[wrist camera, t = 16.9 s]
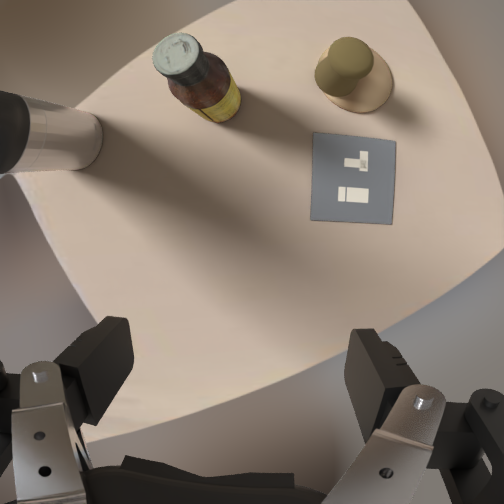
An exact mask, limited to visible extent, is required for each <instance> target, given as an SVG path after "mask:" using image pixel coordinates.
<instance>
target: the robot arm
mask: <svg viewBox="0 0 504 504" xmlns="http://www.w3.org/2000/svg"><path fill="white" fill-rule="evenodd" d="M102 139H103V133H102V128H101V125H100V123H99V121H98V119H97V118H96V117H95V116H93V115H92V114H90V113H87V112H84V111H80V110H77V109H73V108H69V107H66V106H62V105H59V104H54V103H51V102H47V101H43V100H39V99H35V98H30V97H26V96H22V95H17V94H13V93H8V92H4V91H0V174H7V173H19V172H34V171H55V170H79V169H83V168H85V167H87V166H88V165H90V164H91V163H92V162H93V161H94V160H95V158H96V157H97V155H98V153H99V151H100V149H101V145H102ZM133 364H134V353H133V346H132V340H131V333H130V326H129V322H128V320H127V319H126V318H122V317H113V316H106V317H105V318H104V319H103V320H102V321H101V322H100V323H99V324H98V325H97V326H96V327H93V328H91V329H89V330H87V331H85V332H83V333H82V334H81V335H80V336H79V337H78V338H77V339H76V340H75V341H74V342H73V343H72V344H71V345H70V346H68V347H67V348H66V349H65V350H64V351H63V352H62V353H61V354H60V355H59V356H58V357H57V358H56V359H55V360H54V361H53V362H51V361H38V362H34V363H32V364H30V365H28V366H26V367H25V368H24V369H23V370H22V372H21V374H9V373H6V372H5V369H4V366H3V363H2V362H1V361H0V477H1V475H2V474H3V472H4V471H5V469H6V468H7V466H8V464H9V463H10V461H11V460H12V459H13V467H14V477H15V486H16V494H17V500H14V501H11V502H8V503H5V504H410V502H411V500H412V498H413V496H414V494H415V492H416V490H417V487H418V485H419V483H420V481H421V478H422V476H423V474H424V471H425V469H426V468H429V469H439V470H440V473H441V476H442V478H443V481H444V483H445V486H446V489H447V491H448V494H449V497H450V499H451V502H452V504H504V395H503V394H501V393H500V392H498V391H495V390H492V389H479V390H476V391H475V392H474V393H473V394H472V395H471V397H470V400H469V402H468V403H453V402H446V399H445V396H444V395H443V394H442V392H440V391H439V390H438V389H436V388H434V387H431V386H428V385H423V384H420V382H419V381H418V379H417V377H416V376H415V374H414V373H413V372H412V370H411V368H410V367H409V365H407V362H406V361H405V359H404V358H402V355H401V353H400V352H399V350H398V349H397V348H396V347H394V346H393V345H391V344H390V343H389V342H387V341H385V342H382V341H381V339H380V338H379V336H378V334H377V333H376V331H375V330H374V329H353V330H352V332H351V335H350V341H349V346H348V352H347V358H346V363H345V370H344V376H345V377H344V378H345V384H346V386H347V390H348V392H349V396H350V399H351V402H352V405H353V408H354V410H355V414H356V417H357V420H358V423H359V426H360V429H361V432H362V436H363V439H364V442H365V446H364V447H363V449H362V450H361V452H360V453H359V454H358V456H357V457H356V459H355V460H354V462H353V463H352V464H351V466H350V467H349V468H348V470H347V471H346V473H345V474H344V475H343V477H342V478H341V479H340V480H339V482H338V483H337V484H336V486H335V487H334V488H333V489H332V491H331V492H330V493H329V495H326V494H324V493H322V492H320V491H317V490H314V489H311V488H308V487H304V486H300V485H295V484H294V474H293V473H243V474H235V475H227V476H217V477H202V476H198V475H195V474H192V473H189V472H186V471H184V470H181V469H178V468H175V467H173V466H170V465H167V464H165V463H161V462H155V461H150V460H145V459H140V458H136V457H131V456H127V455H125V458H124V460H123V462H122V464H121V466H105V467H98V468H93V465H92V462H91V459H90V456H89V453H88V449H87V446H86V443H85V439H84V436H83V433H82V430H81V428H80V426H81V425H82V423H87V424H91V425H94V426H97V424H98V422H99V421H100V419H101V418H102V416H103V414H104V413H105V411H106V410H107V408H108V407H109V405H110V403H111V402H112V400H113V399H114V397H115V396H116V394H117V392H118V391H119V389H120V388H121V386H122V385H123V383H124V381H125V380H126V378H127V377H128V375H129V374H130V372H131V371H132V368H133ZM484 453H486V455H487V457H488V459H489V461H490V463H491V465H492V475H491V474H490V472H489V470H488V468H487V466H486V465H485V463H484V461H483V459H482V456H483V455H484Z"/></svg>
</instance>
